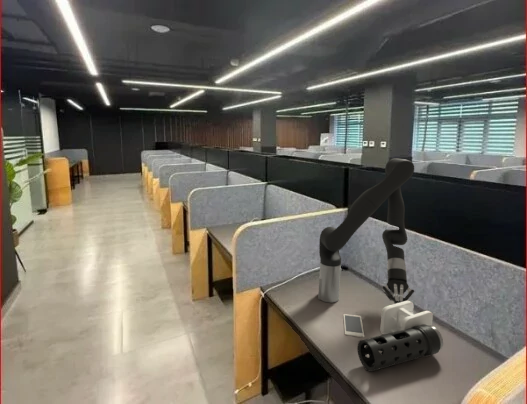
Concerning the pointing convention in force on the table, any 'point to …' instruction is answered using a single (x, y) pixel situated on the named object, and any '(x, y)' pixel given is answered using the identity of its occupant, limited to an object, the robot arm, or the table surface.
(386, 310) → the white toothbrush holder
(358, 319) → the phone
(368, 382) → the table surface
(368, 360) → the muzzle brake
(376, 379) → the table surface
